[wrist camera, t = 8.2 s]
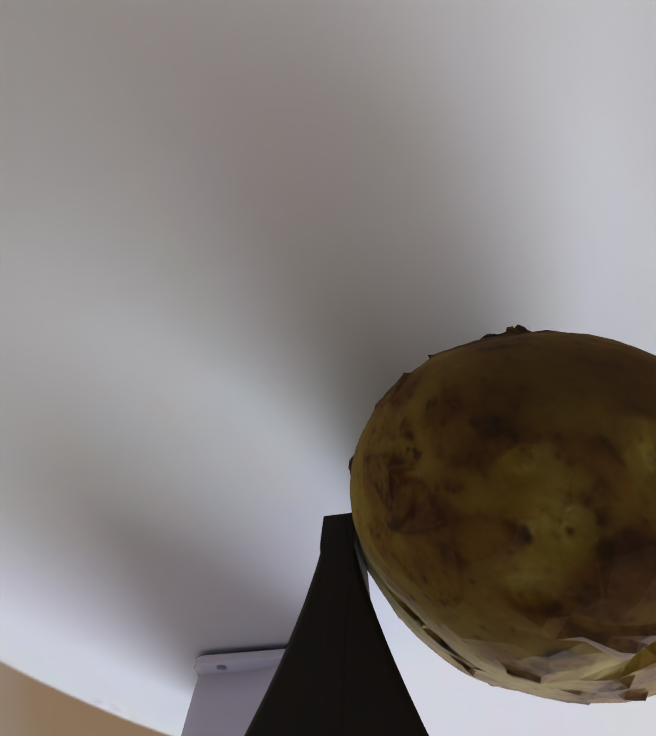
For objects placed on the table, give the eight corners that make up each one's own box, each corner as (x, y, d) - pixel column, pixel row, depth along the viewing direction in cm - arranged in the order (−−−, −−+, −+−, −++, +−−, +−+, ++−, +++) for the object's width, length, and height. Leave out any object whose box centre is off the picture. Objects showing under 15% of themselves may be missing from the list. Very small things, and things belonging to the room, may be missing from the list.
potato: (322, 605, 15) (368, 969, 8) (327, 286, 11) (451, 431, 3) (511, 583, 16) (711, 885, 9) (591, 285, 12) (1146, 390, 4)
